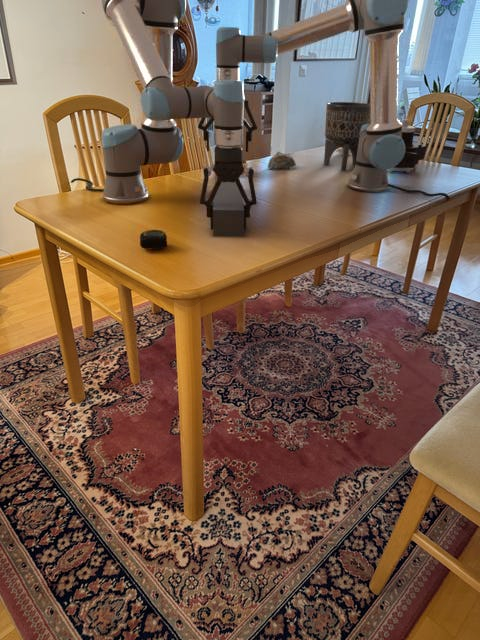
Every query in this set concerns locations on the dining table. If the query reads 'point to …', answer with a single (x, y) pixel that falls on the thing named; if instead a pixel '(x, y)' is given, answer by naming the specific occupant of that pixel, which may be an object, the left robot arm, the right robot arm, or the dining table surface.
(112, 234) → the dining table surface
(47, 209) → the dining table surface
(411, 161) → the mechanical component
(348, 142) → the planter
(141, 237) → the tape measure
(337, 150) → the figurine
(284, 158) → the rock
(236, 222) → the long gray bar
